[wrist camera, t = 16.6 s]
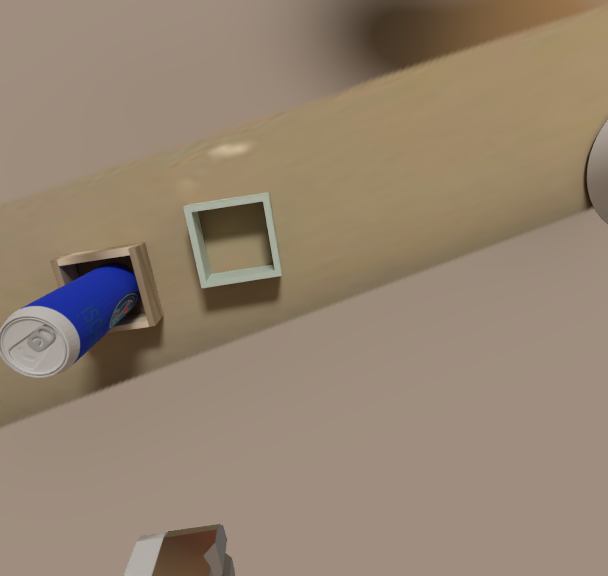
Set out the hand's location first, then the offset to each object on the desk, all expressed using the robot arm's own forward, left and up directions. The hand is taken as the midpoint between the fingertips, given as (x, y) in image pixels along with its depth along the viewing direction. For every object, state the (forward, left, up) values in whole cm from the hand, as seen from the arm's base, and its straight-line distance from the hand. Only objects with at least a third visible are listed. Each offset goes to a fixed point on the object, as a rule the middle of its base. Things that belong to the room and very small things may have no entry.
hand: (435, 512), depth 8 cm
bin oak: (+20, +2, -35) cm, 40 cm away
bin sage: (+7, -1, -35) cm, 36 cm away
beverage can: (+20, +2, -35) cm, 41 cm away
